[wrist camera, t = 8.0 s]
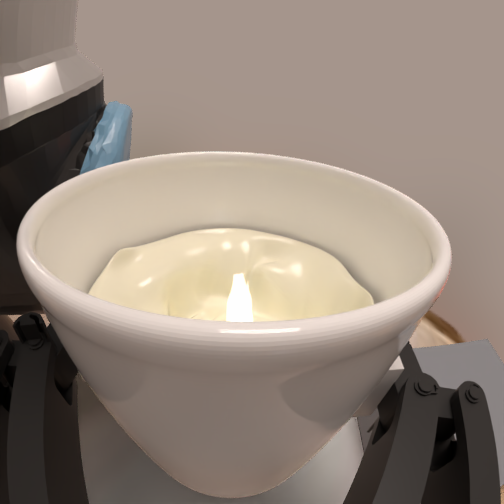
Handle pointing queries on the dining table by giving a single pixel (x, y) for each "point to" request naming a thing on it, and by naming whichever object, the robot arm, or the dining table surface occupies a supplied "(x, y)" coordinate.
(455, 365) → the riser block
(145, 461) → the dining table surface
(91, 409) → the dining table surface
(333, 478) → the dining table surface
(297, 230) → the candle holder
